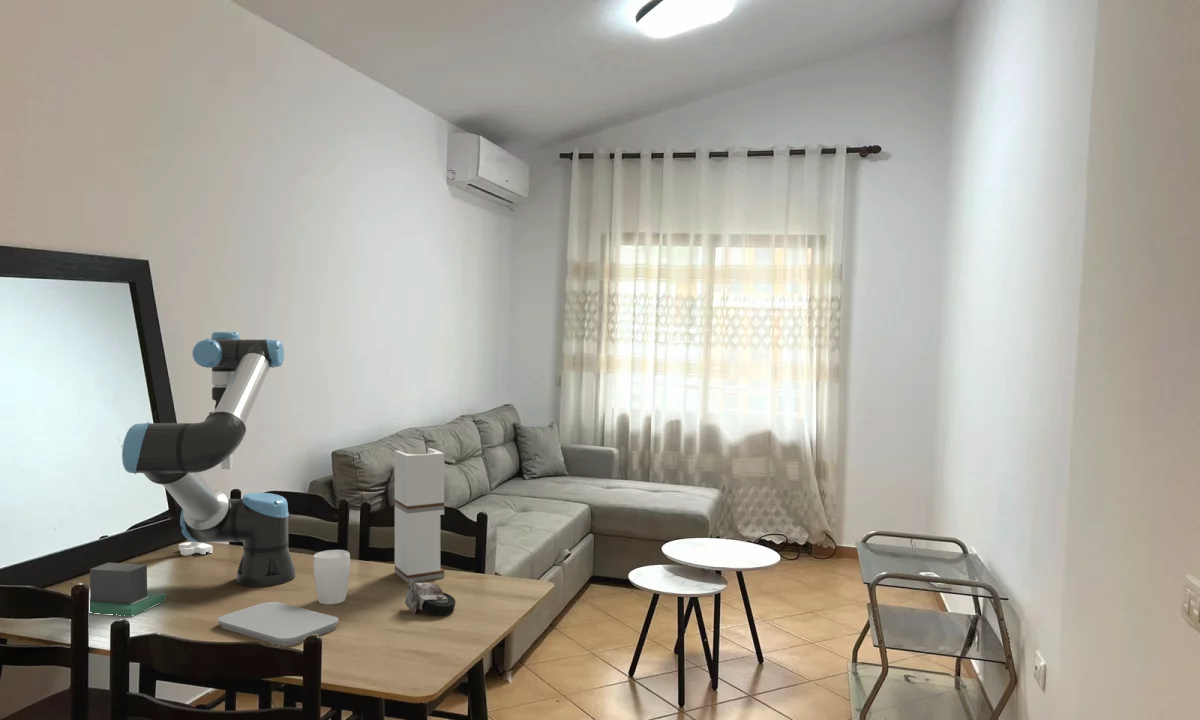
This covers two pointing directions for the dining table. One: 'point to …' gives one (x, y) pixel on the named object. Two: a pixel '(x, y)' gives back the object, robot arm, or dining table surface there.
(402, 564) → the white striped vase
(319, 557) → the cup
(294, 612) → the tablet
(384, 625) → the dining table surface
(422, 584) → the caster wheel
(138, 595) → the block
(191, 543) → the joystick
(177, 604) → the dining table surface
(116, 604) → the board
